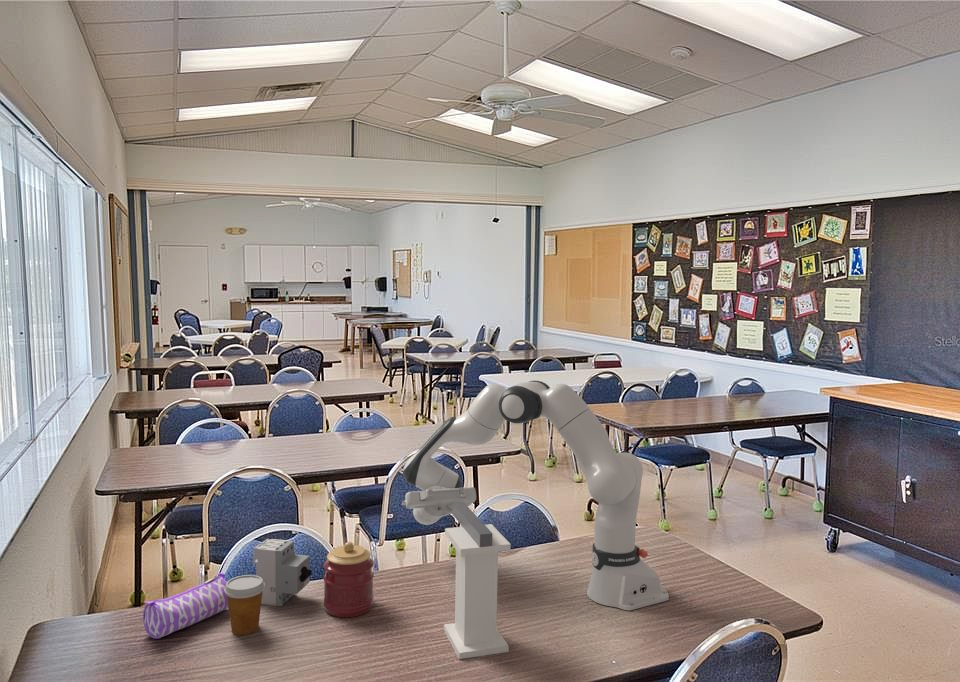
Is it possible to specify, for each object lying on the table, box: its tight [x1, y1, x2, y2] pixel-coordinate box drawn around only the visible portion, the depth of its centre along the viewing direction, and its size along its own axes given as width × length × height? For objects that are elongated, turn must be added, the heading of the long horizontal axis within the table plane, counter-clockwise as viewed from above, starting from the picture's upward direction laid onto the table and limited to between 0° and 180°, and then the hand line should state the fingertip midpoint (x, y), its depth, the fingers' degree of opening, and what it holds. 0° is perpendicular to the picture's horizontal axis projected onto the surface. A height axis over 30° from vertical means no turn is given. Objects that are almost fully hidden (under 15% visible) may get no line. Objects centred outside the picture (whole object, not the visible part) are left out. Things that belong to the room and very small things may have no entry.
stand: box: [443, 523, 512, 660], centre depth 170 cm, size 12×14×26 cm
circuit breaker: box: [252, 538, 313, 607], centre depth 191 cm, size 8×14×15 cm, turn 78°
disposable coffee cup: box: [224, 574, 265, 636], centre depth 175 cm, size 10×10×12 cm
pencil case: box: [142, 572, 228, 640], centre depth 178 cm, size 22×9×9 cm, turn 150°
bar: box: [451, 502, 492, 547], centre depth 174 cm, size 3×24×3 cm, turn 18°
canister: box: [323, 541, 375, 618], centre depth 187 cm, size 13×13×18 cm
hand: (446, 491), depth 196 cm, fingers open, 8 cm apart
